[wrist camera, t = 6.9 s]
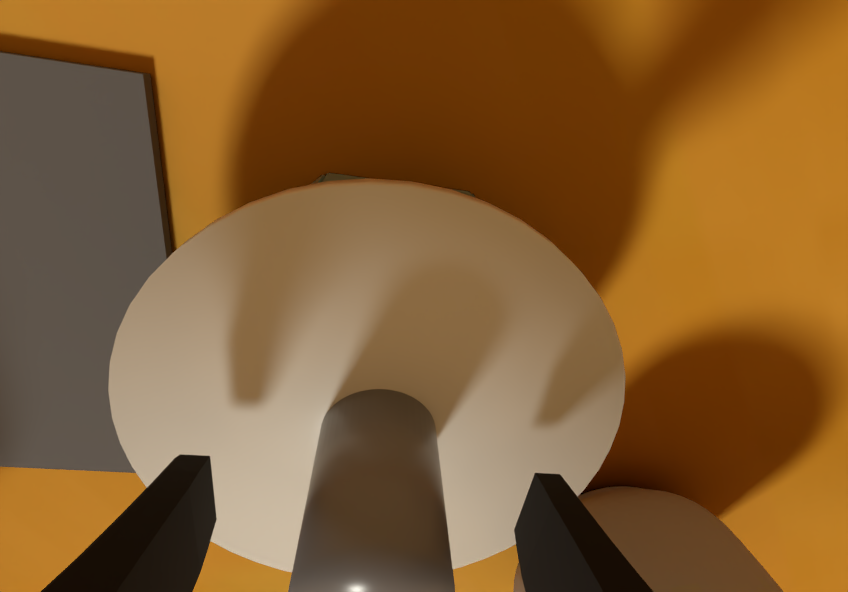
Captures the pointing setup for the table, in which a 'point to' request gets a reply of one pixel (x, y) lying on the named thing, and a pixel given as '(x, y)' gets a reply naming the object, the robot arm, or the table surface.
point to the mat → (71, 251)
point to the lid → (368, 379)
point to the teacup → (673, 543)
